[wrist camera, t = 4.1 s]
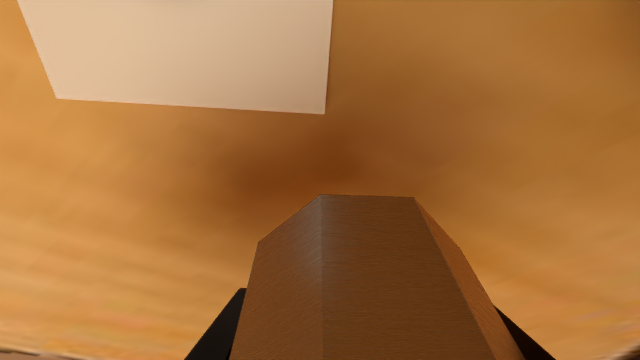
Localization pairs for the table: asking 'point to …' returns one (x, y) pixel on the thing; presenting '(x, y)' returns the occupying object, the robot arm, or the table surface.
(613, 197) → the table surface
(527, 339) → the robot arm
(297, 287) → the steel collar
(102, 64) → the post block
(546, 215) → the table surface
